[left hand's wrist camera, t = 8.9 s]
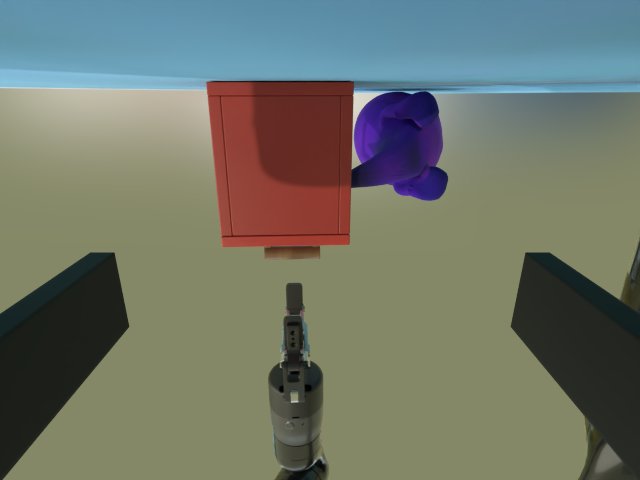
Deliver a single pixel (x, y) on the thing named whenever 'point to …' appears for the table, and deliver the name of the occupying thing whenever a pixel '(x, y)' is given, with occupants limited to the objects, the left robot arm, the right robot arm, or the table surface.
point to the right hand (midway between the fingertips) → (293, 299)
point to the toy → (400, 145)
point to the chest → (282, 156)
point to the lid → (287, 244)
